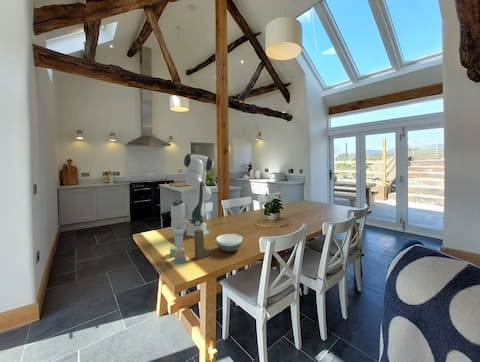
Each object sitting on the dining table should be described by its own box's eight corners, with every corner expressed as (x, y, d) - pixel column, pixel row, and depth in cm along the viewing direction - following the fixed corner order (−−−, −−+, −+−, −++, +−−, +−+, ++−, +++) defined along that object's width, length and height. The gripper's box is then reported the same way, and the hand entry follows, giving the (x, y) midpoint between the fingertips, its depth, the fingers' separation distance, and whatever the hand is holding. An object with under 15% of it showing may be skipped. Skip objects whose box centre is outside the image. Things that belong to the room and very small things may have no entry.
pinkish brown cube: (176, 255, 145) (176, 248, 144) (184, 254, 146) (184, 247, 146) (176, 259, 140) (176, 251, 139) (184, 258, 141) (184, 250, 141)
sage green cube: (170, 253, 154) (170, 246, 153) (178, 252, 155) (178, 245, 154) (170, 256, 149) (170, 249, 148) (178, 256, 150) (177, 248, 150)
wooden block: (206, 253, 154) (205, 227, 152) (210, 255, 150) (209, 229, 148) (194, 257, 148) (193, 230, 146) (198, 259, 144) (197, 232, 143)
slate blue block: (174, 258, 146) (174, 255, 145) (186, 257, 147) (186, 253, 147) (174, 263, 139) (174, 260, 139) (186, 262, 141) (186, 258, 140)
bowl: (211, 248, 163) (211, 236, 162) (233, 242, 173) (233, 232, 172) (224, 257, 147) (224, 245, 146) (247, 250, 157) (247, 239, 156)
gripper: (174, 222, 150) (174, 242, 152) (172, 233, 131) (173, 255, 132) (183, 221, 152) (184, 241, 154) (183, 232, 132) (184, 254, 134)
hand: (179, 248), depth 143 cm, fingers open, 8 cm apart
